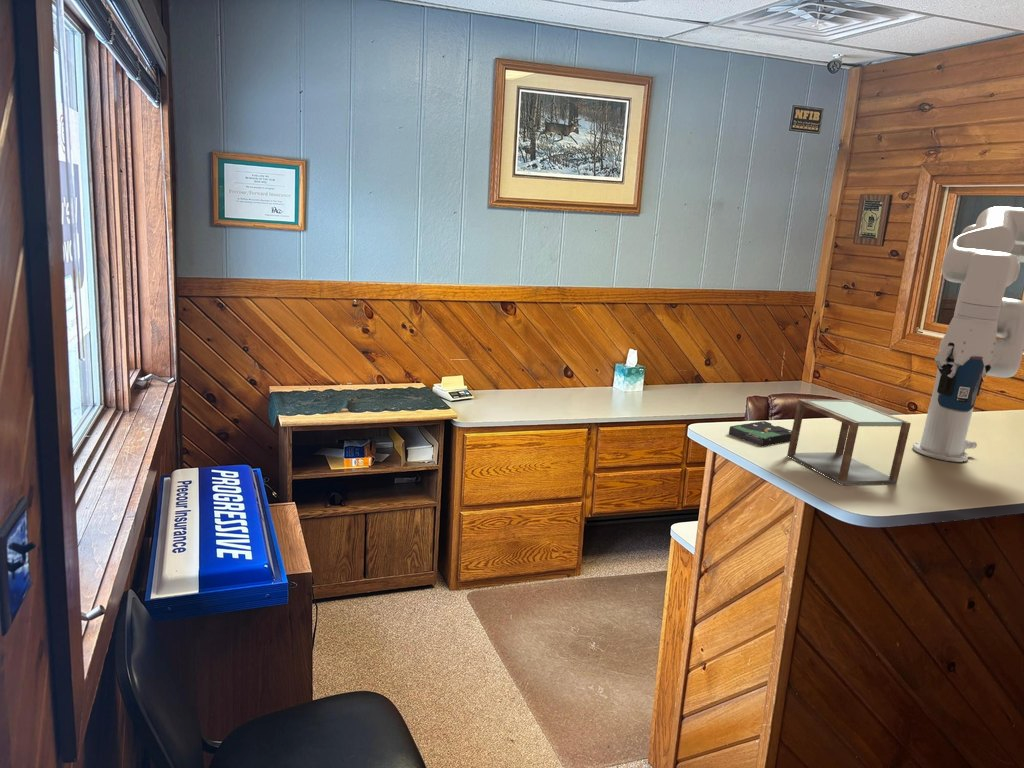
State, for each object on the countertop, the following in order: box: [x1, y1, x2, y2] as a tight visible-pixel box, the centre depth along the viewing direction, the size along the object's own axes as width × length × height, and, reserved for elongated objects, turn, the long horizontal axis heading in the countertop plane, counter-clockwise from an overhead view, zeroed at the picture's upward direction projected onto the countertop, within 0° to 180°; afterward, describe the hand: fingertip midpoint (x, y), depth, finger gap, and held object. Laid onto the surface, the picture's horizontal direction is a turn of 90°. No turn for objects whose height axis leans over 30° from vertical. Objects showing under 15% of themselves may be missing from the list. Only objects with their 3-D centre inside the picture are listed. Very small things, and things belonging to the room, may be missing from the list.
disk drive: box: [728, 420, 792, 448], centre depth 193 cm, size 10×3×15 cm
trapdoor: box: [808, 401, 902, 427], centre depth 170 cm, size 16×12×1 cm
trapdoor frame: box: [786, 398, 912, 485], centre depth 172 cm, size 18×15×14 cm
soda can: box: [938, 357, 984, 412], centre depth 162 cm, size 7×7×12 cm
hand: (957, 393), depth 163 cm, fingers closed on soda can, 6 cm apart
